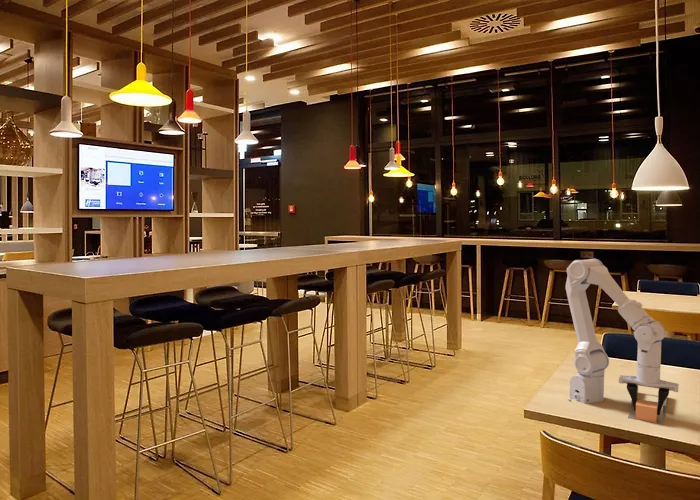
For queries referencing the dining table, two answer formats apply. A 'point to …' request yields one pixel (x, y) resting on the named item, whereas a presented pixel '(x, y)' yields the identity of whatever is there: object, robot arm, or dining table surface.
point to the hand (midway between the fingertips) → (647, 411)
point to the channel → (662, 413)
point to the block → (646, 410)
